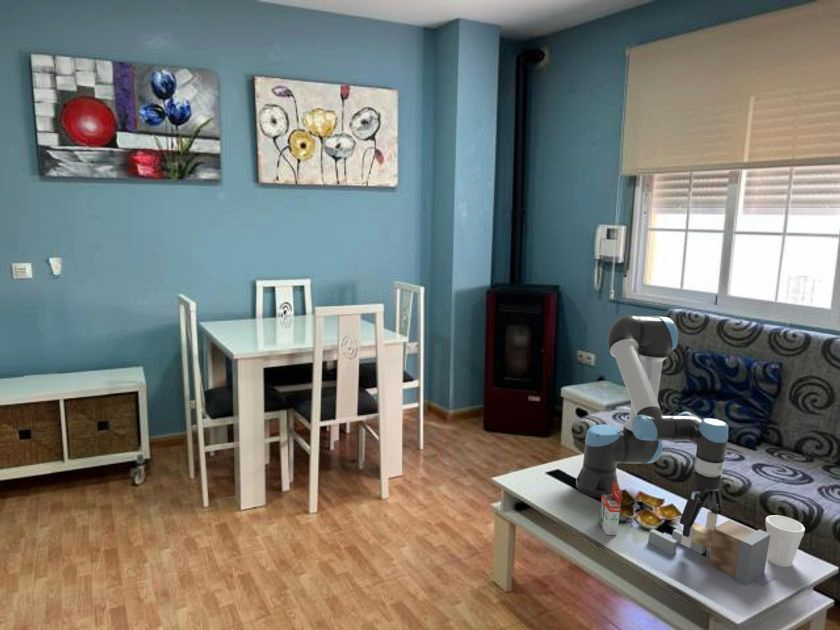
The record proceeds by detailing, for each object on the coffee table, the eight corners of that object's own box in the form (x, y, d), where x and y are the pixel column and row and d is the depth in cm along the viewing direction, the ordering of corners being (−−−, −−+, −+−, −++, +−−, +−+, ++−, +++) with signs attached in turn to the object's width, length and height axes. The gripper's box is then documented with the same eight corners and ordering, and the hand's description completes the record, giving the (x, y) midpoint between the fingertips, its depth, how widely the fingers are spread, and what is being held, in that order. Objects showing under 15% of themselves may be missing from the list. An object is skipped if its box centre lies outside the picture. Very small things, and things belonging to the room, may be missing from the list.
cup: (752, 553, 184) (759, 513, 182) (786, 556, 184) (792, 516, 182) (770, 573, 175) (777, 531, 172) (805, 575, 174) (813, 533, 172)
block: (708, 564, 175) (713, 528, 173) (724, 555, 180) (729, 520, 179) (736, 578, 169) (742, 541, 167) (751, 568, 174) (757, 532, 172)
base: (660, 545, 186) (665, 506, 184) (679, 535, 193) (684, 497, 190) (746, 590, 166) (753, 546, 163) (765, 577, 172) (772, 534, 170)
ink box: (606, 535, 190) (611, 491, 188) (597, 522, 198) (602, 480, 196) (617, 535, 191) (622, 491, 188) (608, 522, 198) (613, 480, 196)
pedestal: (647, 545, 185) (649, 530, 185) (651, 544, 187) (653, 528, 186) (671, 558, 179) (674, 542, 178) (675, 556, 180) (677, 541, 180)
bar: (684, 537, 183) (686, 525, 183) (691, 534, 186) (693, 521, 185) (731, 559, 172) (733, 546, 172) (738, 555, 175) (740, 542, 174)
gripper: (697, 486, 168) (687, 557, 171) (741, 467, 183) (731, 533, 186) (672, 476, 174) (663, 545, 177) (716, 459, 189) (707, 522, 192)
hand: (698, 539), depth 182 cm, fingers open, 13 cm apart
